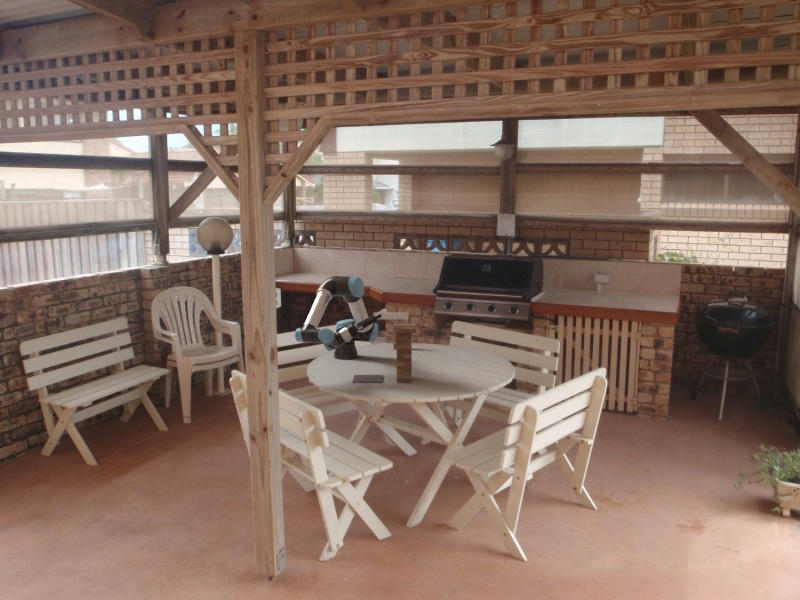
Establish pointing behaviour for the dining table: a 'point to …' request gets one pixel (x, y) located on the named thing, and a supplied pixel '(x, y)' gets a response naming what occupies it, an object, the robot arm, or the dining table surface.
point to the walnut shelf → (404, 350)
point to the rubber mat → (368, 378)
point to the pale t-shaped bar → (395, 315)
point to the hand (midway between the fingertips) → (386, 311)
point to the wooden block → (395, 338)
